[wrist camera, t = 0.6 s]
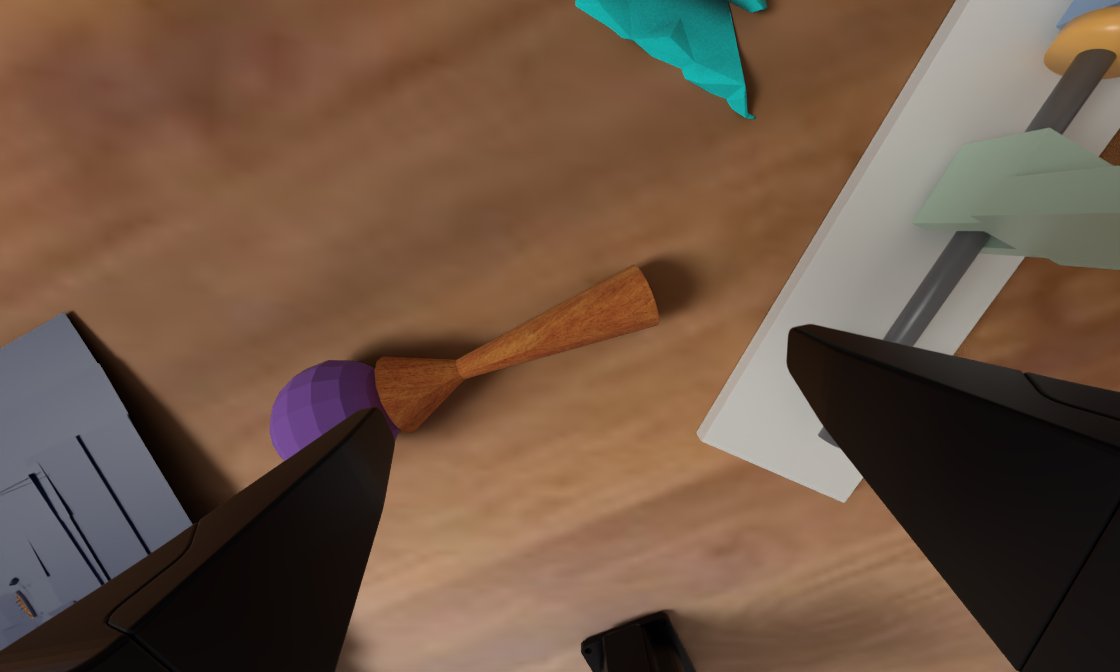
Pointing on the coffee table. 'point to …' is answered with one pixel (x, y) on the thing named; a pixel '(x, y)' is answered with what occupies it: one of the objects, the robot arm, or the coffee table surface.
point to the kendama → (452, 365)
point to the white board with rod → (897, 198)
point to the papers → (69, 480)
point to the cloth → (684, 38)
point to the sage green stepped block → (1032, 199)
